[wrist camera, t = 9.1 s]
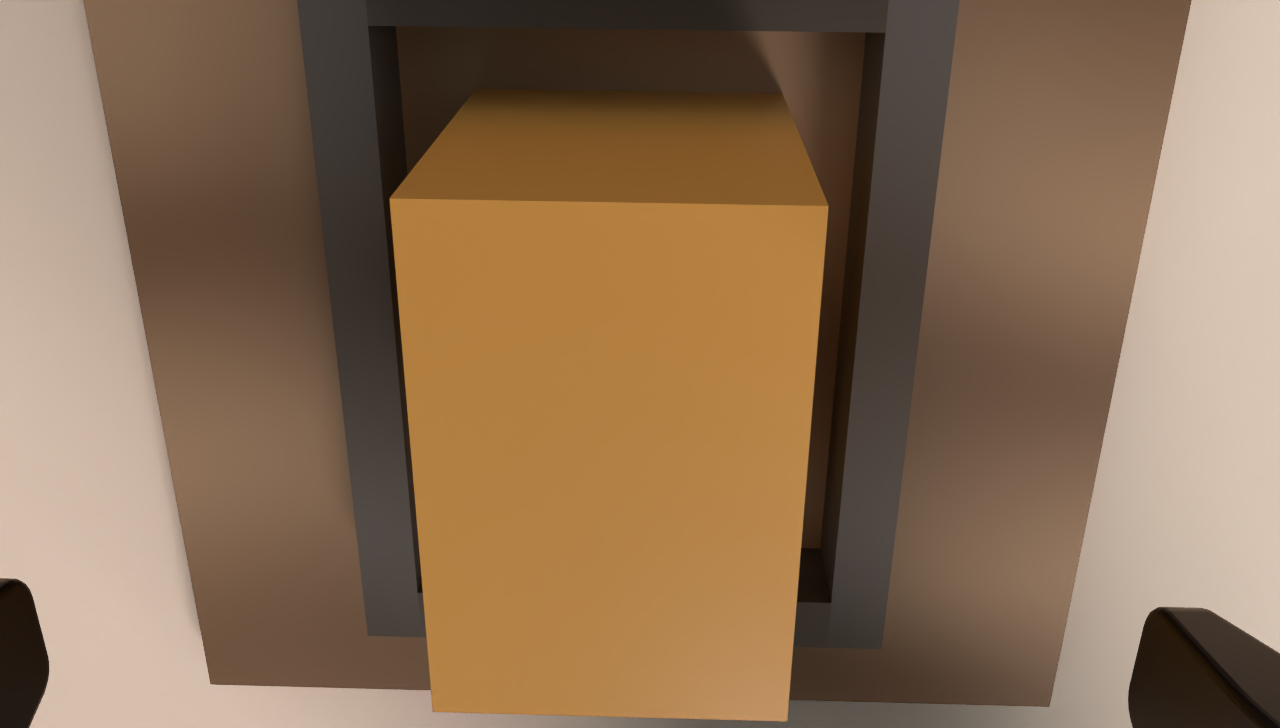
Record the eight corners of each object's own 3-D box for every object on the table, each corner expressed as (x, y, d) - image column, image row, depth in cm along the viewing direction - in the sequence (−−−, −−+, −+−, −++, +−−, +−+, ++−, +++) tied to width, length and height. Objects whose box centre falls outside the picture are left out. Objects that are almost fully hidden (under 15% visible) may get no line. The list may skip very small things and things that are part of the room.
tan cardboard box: (758, 491, 17) (786, 720, 13) (495, 485, 18) (433, 711, 13) (783, 93, 15) (828, 206, 10) (476, 88, 15) (389, 197, 11)
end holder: (1038, 682, 20) (1075, 769, 18) (223, 661, 20) (177, 743, 18) (1219, -248, 14) (1302, -261, 12) (59, -258, 14) (-32, -271, 12)
